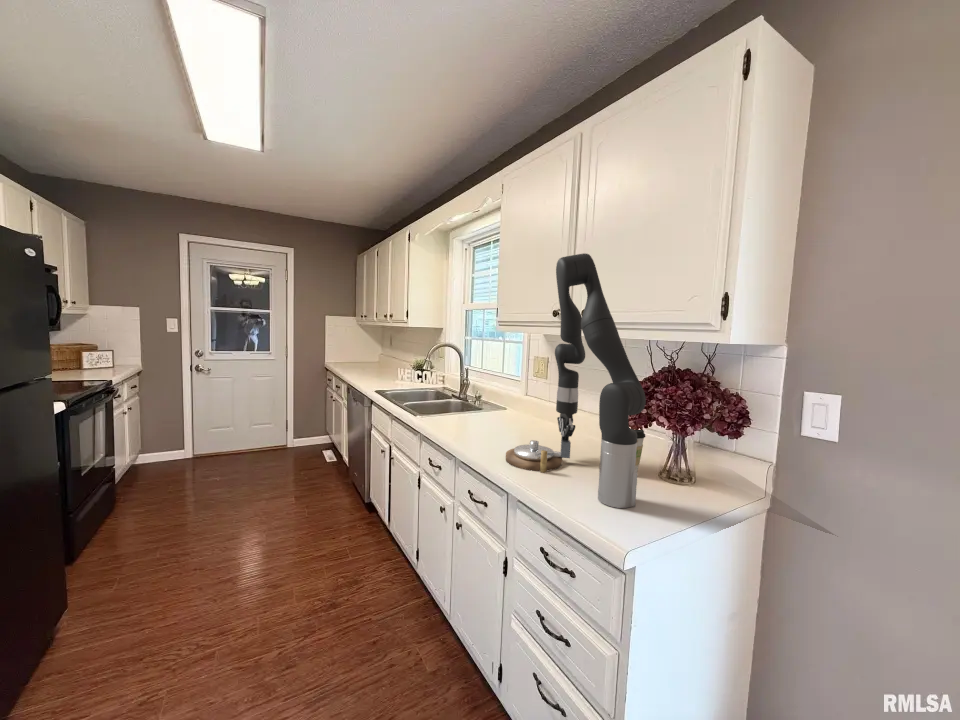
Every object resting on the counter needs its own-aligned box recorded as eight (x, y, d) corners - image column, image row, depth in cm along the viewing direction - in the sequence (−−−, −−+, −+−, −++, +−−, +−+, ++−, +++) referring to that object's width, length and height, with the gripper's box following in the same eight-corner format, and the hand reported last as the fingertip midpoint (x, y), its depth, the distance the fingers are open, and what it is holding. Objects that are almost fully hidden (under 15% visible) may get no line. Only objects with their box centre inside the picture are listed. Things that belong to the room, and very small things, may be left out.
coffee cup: (615, 476, 128) (618, 431, 127) (608, 466, 138) (611, 424, 136) (646, 479, 127) (649, 433, 126) (638, 468, 136) (640, 426, 135)
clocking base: (558, 453, 150) (559, 435, 149) (566, 474, 128) (567, 453, 128) (506, 450, 151) (506, 432, 151) (504, 470, 130) (505, 449, 129)
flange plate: (513, 459, 134) (514, 443, 134) (514, 447, 148) (515, 432, 148) (571, 463, 132) (572, 447, 132) (567, 451, 146) (568, 436, 145)
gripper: (551, 395, 147) (549, 440, 149) (563, 403, 134) (560, 452, 136) (570, 395, 148) (568, 440, 150) (584, 403, 135) (581, 452, 137)
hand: (564, 446), depth 143 cm, fingers closed
